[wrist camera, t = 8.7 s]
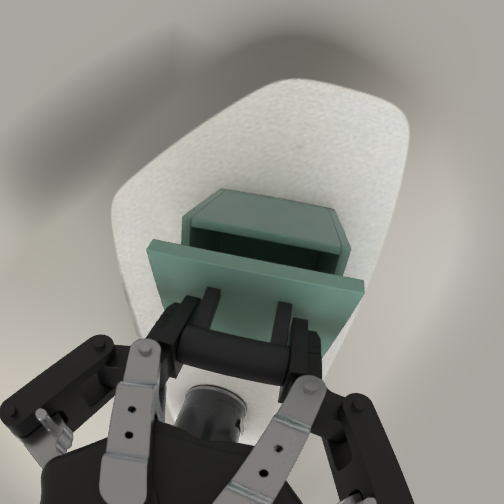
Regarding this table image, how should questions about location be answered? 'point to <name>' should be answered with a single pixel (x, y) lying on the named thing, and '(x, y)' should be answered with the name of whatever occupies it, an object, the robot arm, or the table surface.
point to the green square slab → (248, 308)
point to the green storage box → (268, 231)
